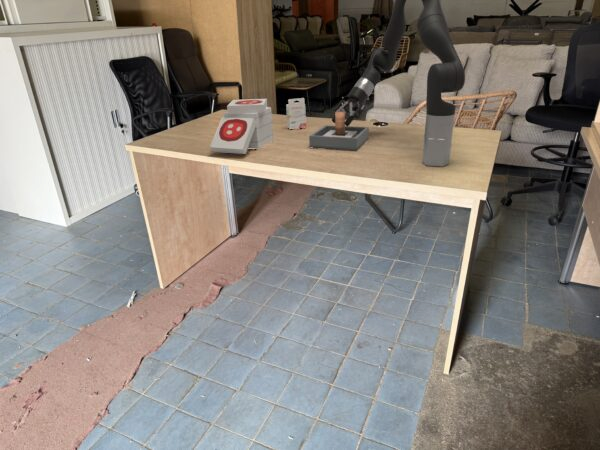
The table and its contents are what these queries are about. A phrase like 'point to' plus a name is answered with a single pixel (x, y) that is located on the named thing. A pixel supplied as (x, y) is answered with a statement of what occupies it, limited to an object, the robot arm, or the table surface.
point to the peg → (340, 123)
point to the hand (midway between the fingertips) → (339, 123)
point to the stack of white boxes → (243, 127)
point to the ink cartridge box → (296, 113)
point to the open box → (339, 138)
